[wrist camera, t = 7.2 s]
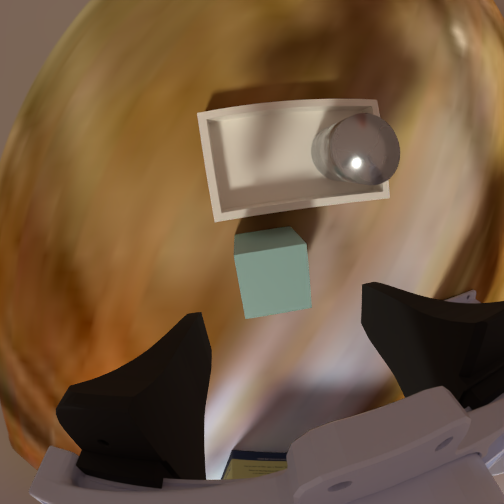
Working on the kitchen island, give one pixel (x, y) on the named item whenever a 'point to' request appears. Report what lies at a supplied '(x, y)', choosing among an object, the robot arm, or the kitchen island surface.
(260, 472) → the protein box
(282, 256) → the teal block
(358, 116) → the silver metal cylinder
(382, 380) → the kitchen island surface
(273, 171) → the parts tray
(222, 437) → the kitchen island surface
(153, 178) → the kitchen island surface
